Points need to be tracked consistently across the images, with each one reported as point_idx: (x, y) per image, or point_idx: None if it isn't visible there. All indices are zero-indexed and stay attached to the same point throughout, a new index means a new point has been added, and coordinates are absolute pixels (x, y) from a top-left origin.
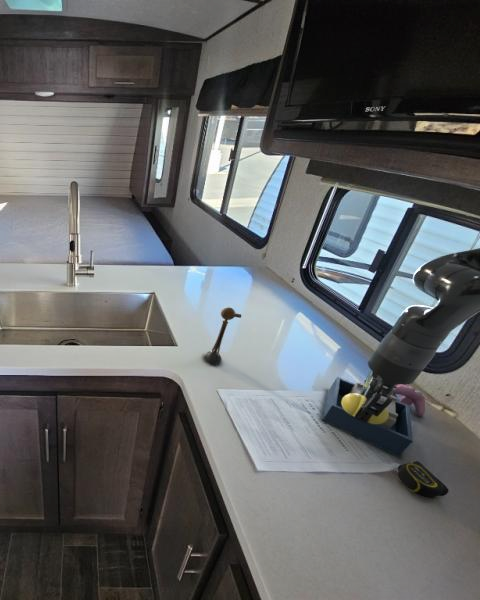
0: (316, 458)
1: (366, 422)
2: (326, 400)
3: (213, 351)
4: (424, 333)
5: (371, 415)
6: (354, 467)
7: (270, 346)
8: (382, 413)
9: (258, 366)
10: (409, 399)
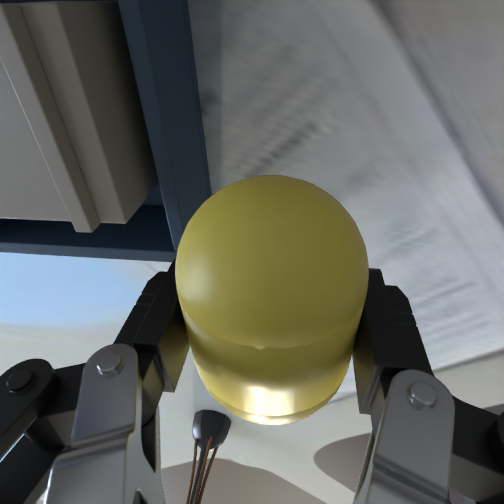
0: (425, 214)
1: (380, 270)
2: None
3: (213, 457)
4: None
5: (393, 330)
6: (396, 94)
7: (18, 342)
8: (338, 293)
9: None
10: None
